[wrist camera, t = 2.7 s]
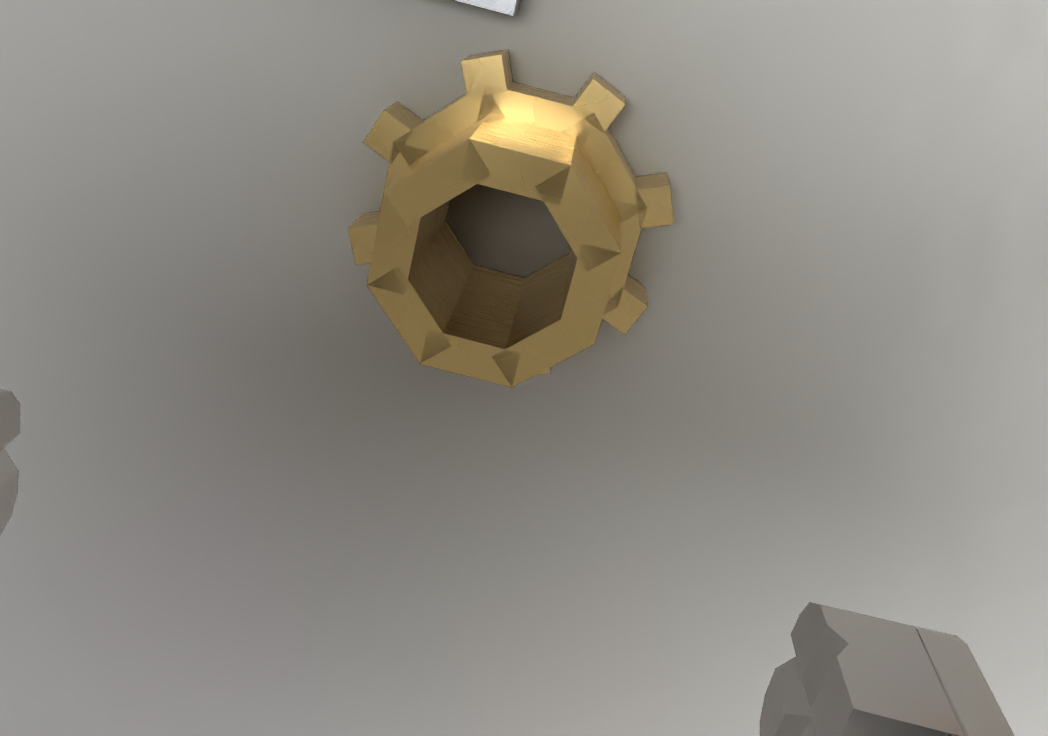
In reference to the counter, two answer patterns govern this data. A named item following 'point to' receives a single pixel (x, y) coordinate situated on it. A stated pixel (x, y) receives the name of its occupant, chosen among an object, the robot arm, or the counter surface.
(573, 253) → the gear
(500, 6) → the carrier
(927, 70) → the counter surface
